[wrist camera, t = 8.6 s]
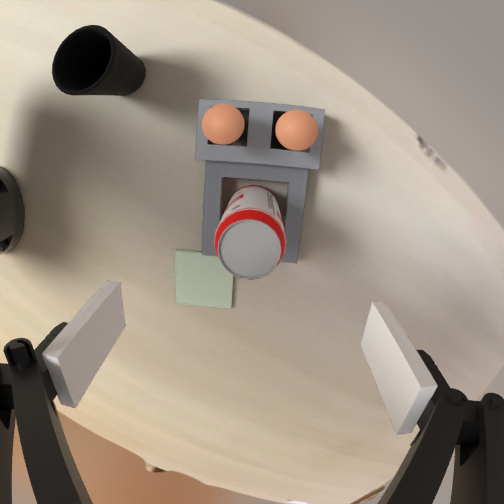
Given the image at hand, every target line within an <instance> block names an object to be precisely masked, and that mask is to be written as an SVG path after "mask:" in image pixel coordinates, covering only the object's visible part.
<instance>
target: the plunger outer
mask: <svg viewBox="0 0 504 504" xmlns="http://www.w3.org/2000/svg"><path fill="white" fill-rule="evenodd" d="M275 132H276V137H277V139H278V141H279V142H280V143H281V144H282V145H283V146H284V147H286V148H288V149H290V150H294V151H301V150H305V149H307V148H309V147H310V146H311V145H313V143H314V142H315V141H316V138H317V135H318V126H317V123H316V121H315V119H314V118H313V117H312V116H311V115H310V114H309V113H307V112H305V111H302V110H291V111H288V112H286V113H284V114H283V115H282V116H281V117H280V118H279V120H278V121H277V123H276V128H275Z"/></svg>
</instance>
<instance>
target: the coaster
mask: <svg viewBox="0 0 504 504" xmlns="http://www.w3.org/2000/svg"><path fill="white" fill-rule="evenodd" d="M175 288H176V303H178V304H187V305H196V306H206V307H216V308H227V309H231V306H232V289H233V275H232V274H230V273H229V272H228V271H227V270H226V269H225V268H224V267H223V265H222V263H221V262H220V260H219V258H218V257H217V256H206V255H202V252H198V251H187V250H175Z"/></svg>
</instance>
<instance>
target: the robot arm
mask: <svg viewBox="0 0 504 504" xmlns="http://www.w3.org/2000/svg"><path fill="white" fill-rule="evenodd" d="M23 226H24V207H23V201H22V197H21V193H20V191H19V188H18V186H17V184H16V182H15V180H14V179H13V177H12V176H11V175H10V174H9V172H7V171H6V170H5V169H3V168H1V167H0V254H3V253H5V252H6V251H8V250H10V249H12V248H13V247H14V246H15V245H16V244H17V243H18V241H19V239H20V237H21V235H22V231H23ZM125 327H126V324H125V316H124V309H123V301H122V292H121V282H117V281H109V280H108V281H107V282H106V283H105V284H104V285H103V286H102V287H101V288H100V289H99V290H98V291H97V292H96V293H95V294H94V295H93V297H92V298H91V299H90V300H89V301H88V302H87V303H86V304H85V305H84V306H83V307H82V309H81V310H80V311H79V312H78V313H77V314H76V315H75V316H74V317H73V318H72V320H71V321H70V322H69V323H66V322H63V323H61V324H59V325H58V326H56V327H55V328H54V329H53V330H52V331H51V332H50V333H49V334H48V335H47V336H46V338H45V340H43V341H42V342H41V343H40V344H39V345H38V347H37V348H36V349H35V350H34V349H33V346H32V344H31V342H30V341H29V340H28V339H25V338H17V339H14V340H11V341H10V342H8V343H7V344H6V345H5V347H4V350H3V351H4V353H5V356H6V359H7V361H8V364H3V363H0V504H12V483H11V482H12V452H13V438H14V428H15V418H16V420H17V426H18V431H19V436H20V441H21V446H22V451H23V455H24V459H25V463H26V467H27V471H28V475H29V478H30V482H31V485H32V488H33V491H34V495H35V498H36V501H37V504H93V503H92V501H91V499H90V497H89V495H88V492H87V490H86V488H85V486H84V484H83V481H82V479H81V477H80V474H79V472H78V469H77V467H76V464H75V462H74V459H73V457H72V454H71V451H70V449H69V446H68V444H67V441H66V438H65V435H64V432H63V429H62V426H61V423H60V420H59V417H58V413H57V410H56V406H55V404H54V401H53V400H54V398H55V397H56V395H57V396H58V398H59V401H60V403H61V404H63V405H66V406H69V407H72V408H76V407H77V405H78V403H79V402H80V400H81V398H82V397H83V395H84V393H85V391H86V390H87V388H88V386H89V385H90V383H91V381H92V380H93V378H94V376H95V375H96V373H97V371H98V370H99V368H100V366H101V365H102V363H103V362H104V360H105V358H106V357H107V355H108V353H109V352H110V350H111V349H112V347H113V345H114V344H115V342H116V341H117V339H118V338H119V336H120V334H121V333H122V331H123V330H124V328H125ZM360 345H361V348H362V350H363V352H364V355H365V357H366V359H367V362H368V364H369V367H370V369H371V372H372V374H373V377H374V379H375V382H376V384H377V387H378V389H379V392H380V394H381V397H382V399H383V402H384V404H385V407H386V410H387V412H388V415H389V417H390V420H391V423H392V425H393V428H394V431H395V434H396V435H397V434H404V433H411V432H412V431H413V429H414V427H415V426H416V424H418V426H419V429H420V431H419V432H418V434H417V435H416V437H415V439H414V440H413V442H412V443H411V445H410V446H411V448H410V449H409V451H408V453H407V455H406V457H405V459H404V461H403V462H402V464H401V466H400V468H399V470H398V471H397V473H396V475H395V477H394V478H393V480H392V482H391V483H390V485H389V487H388V488H387V490H386V491H385V493H384V495H383V496H382V498H381V499H380V501H379V502H378V504H432V503H433V500H434V499H435V496H436V494H437V492H438V489H439V487H440V485H441V482H442V480H443V478H444V475H445V473H446V470H447V467H448V465H449V462H450V459H451V457H452V454H453V451H454V448H455V463H454V476H453V486H452V494H451V502H450V504H504V399H503V398H502V397H501V396H499V395H498V394H495V393H487V394H485V395H484V397H483V398H482V400H481V401H472V400H468V399H467V397H466V395H465V394H463V393H462V392H461V391H459V390H457V389H453V388H450V387H449V385H448V384H447V382H446V380H445V379H444V377H443V375H442V374H441V372H440V371H439V370H438V368H437V366H436V365H435V363H434V361H433V360H432V358H431V357H430V356H429V355H428V354H427V353H426V352H424V351H423V350H416V349H415V347H414V346H413V344H412V343H411V341H410V339H409V338H408V336H407V335H406V333H405V332H404V330H403V328H402V327H401V325H400V324H399V322H398V321H397V319H396V318H395V316H394V315H393V313H392V312H391V310H390V309H389V307H388V306H387V304H386V303H385V302H372V304H371V308H370V312H369V316H368V319H367V323H366V327H365V330H364V334H363V337H362V341H361V344H360Z"/></svg>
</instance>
